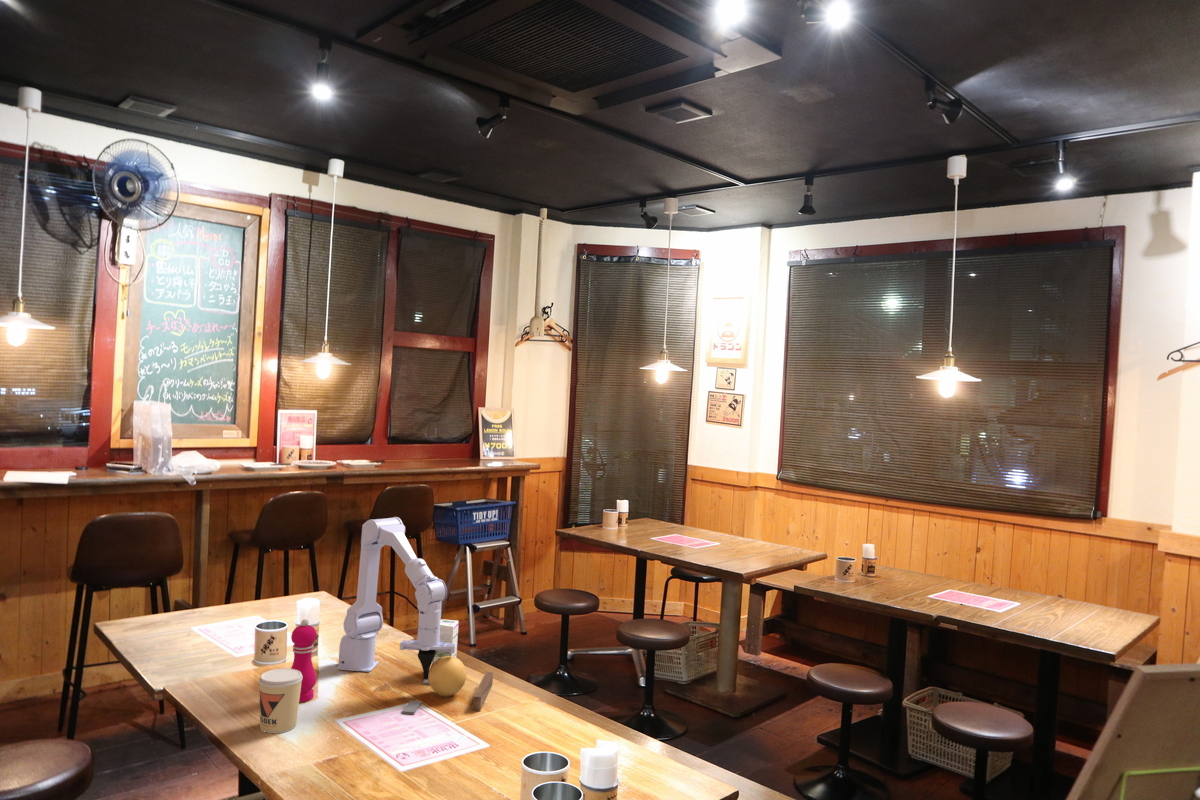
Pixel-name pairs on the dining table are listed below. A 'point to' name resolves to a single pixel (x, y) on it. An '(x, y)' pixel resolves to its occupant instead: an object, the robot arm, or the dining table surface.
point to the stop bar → (482, 691)
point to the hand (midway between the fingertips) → (426, 678)
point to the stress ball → (447, 676)
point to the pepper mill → (304, 658)
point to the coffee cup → (279, 699)
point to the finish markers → (413, 704)
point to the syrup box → (447, 636)
